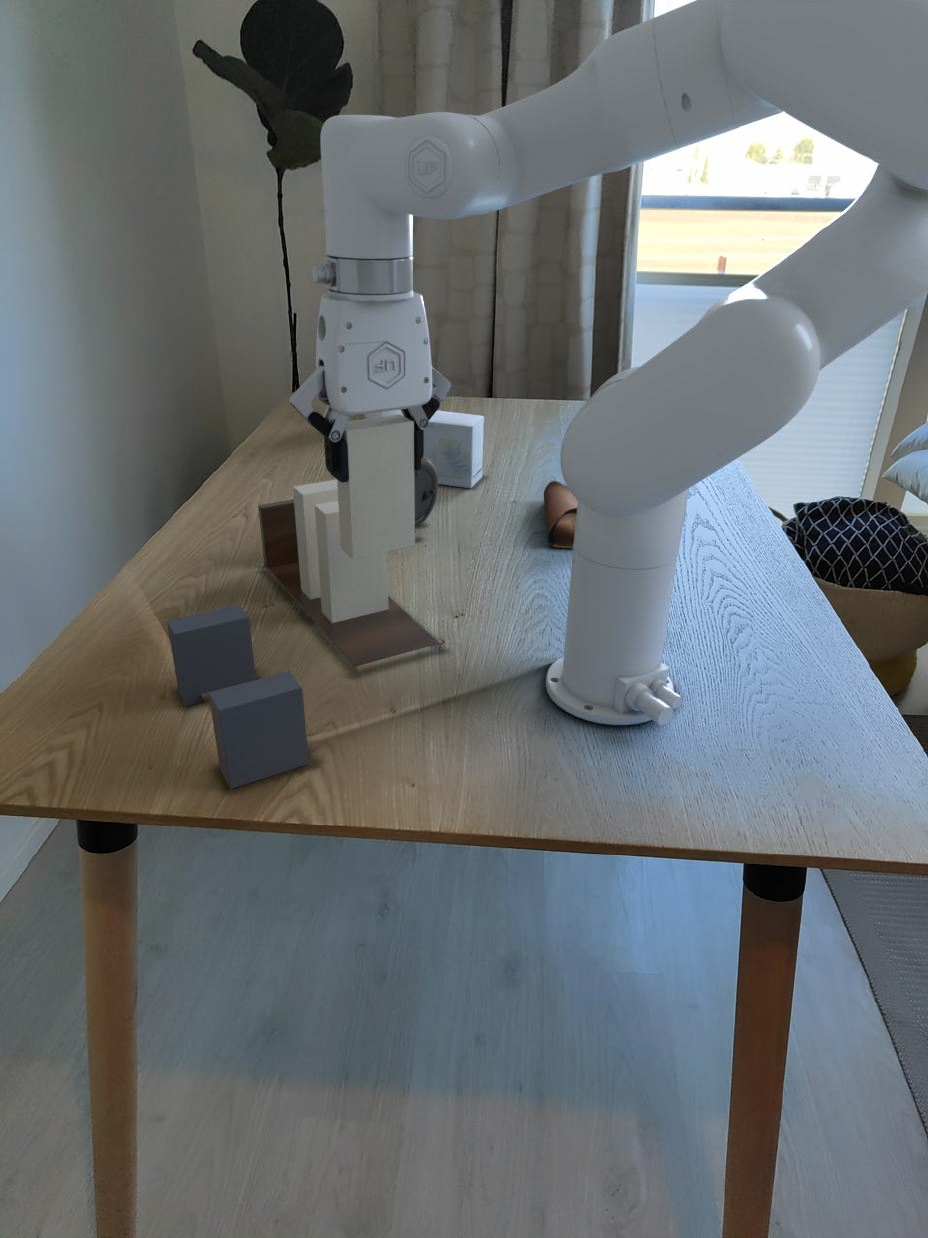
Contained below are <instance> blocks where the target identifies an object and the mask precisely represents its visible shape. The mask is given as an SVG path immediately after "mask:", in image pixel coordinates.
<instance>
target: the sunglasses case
mask: <svg viewBox="0 0 928 1238" xmlns="http://www.w3.org/2000/svg"><path fill="white" fill-rule="evenodd" d="M543 504H544V513H545V515H544V516H545V526H546V537H547V541H548V542H549V543H550V545H551V547H553V548H554V549H563V550H573V543H574V535H575V524H576V515H577V507H578V500H577V499H576V498H575V497H574V496H573V495H572V493H571V492H570V490H569V489H568V487H567V485H566V484H564V483H562V482H560V481H556V480H552V481H550V482H549V483H548V484H547V485H546V486H545V488H544V490H543Z"/></svg>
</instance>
